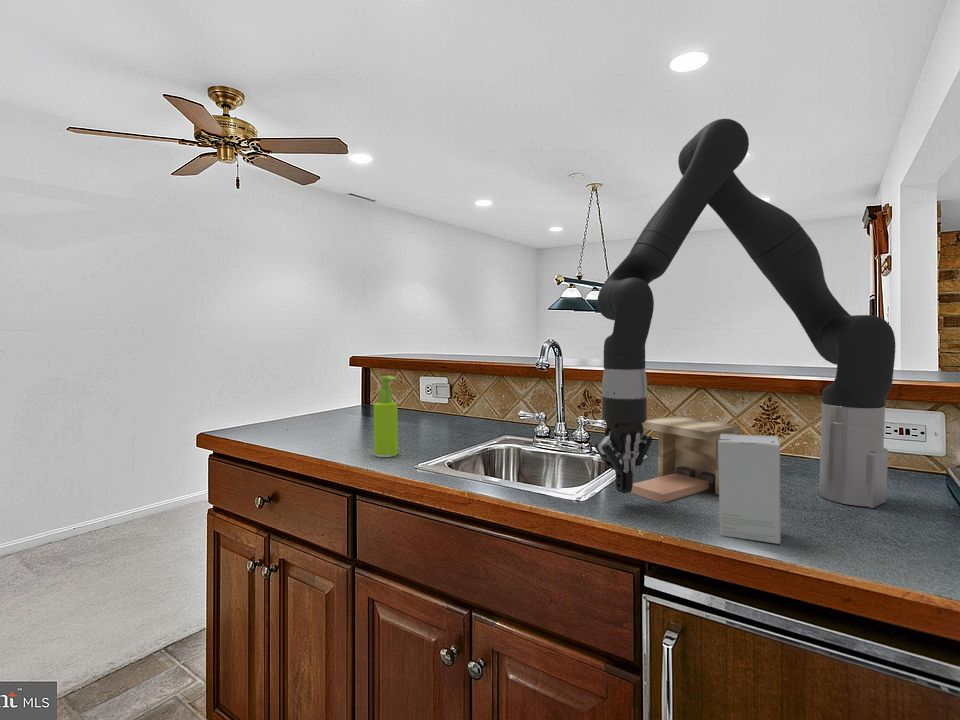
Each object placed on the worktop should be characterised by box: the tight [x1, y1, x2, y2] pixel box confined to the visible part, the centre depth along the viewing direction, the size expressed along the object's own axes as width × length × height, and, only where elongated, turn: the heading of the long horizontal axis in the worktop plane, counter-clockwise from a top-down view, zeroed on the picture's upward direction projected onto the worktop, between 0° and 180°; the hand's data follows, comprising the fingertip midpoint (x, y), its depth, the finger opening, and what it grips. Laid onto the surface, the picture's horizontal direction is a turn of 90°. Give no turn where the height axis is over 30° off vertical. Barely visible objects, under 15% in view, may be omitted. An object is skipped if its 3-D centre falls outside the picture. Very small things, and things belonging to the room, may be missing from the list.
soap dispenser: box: [373, 375, 399, 455], centre depth 128 cm, size 6×7×20 cm
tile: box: [630, 473, 710, 503], centre depth 99 cm, size 8×14×2 cm, turn 124°
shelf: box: [642, 415, 741, 496], centre depth 101 cm, size 14×11×12 cm
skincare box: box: [718, 434, 782, 545], centre depth 77 cm, size 8×6×15 cm
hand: (624, 491), depth 91 cm, fingers closed
